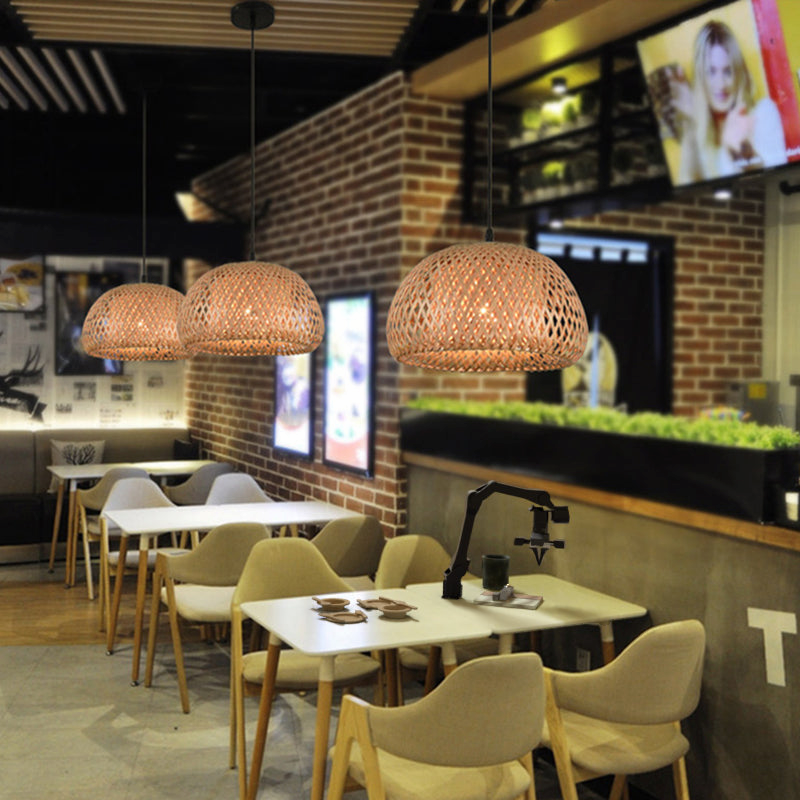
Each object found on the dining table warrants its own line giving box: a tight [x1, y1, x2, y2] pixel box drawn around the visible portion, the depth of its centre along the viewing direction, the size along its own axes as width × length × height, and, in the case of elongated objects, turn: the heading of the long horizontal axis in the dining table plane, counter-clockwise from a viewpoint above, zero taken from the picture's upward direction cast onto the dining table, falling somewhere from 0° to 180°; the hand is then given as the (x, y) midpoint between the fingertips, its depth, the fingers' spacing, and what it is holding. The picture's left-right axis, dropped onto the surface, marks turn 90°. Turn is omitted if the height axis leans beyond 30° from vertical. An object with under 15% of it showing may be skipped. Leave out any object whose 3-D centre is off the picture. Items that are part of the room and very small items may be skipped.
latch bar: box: [499, 583, 515, 601], centre depth 373 cm, size 13×4×4 cm, turn 164°
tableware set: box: [311, 595, 419, 624], centre depth 349 cm, size 35×29×4 cm
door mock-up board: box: [473, 590, 544, 610], centre depth 372 cm, size 22×18×4 cm
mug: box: [481, 553, 511, 591], centre depth 399 cm, size 11×15×12 cm
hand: (539, 565), depth 380 cm, fingers closed
